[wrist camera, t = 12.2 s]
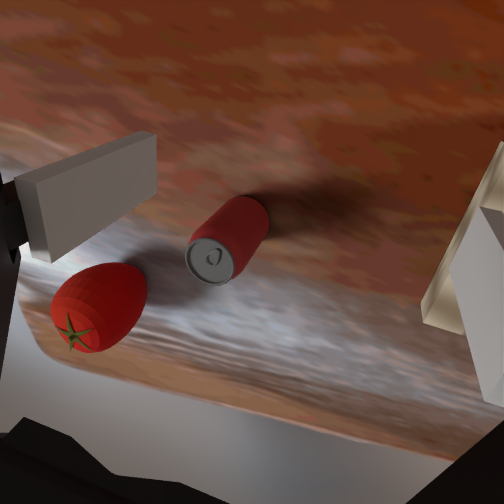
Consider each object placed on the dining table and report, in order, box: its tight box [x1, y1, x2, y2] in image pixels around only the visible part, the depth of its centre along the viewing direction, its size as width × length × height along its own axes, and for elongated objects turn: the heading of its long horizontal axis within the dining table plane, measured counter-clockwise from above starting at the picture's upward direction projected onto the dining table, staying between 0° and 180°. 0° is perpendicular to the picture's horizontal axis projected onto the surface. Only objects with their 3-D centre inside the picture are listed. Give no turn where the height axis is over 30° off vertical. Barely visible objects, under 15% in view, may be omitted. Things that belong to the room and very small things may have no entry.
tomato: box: [51, 262, 147, 353], centre depth 53 cm, size 13×11×14 cm
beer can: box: [185, 196, 270, 286], centre depth 43 cm, size 7×7×12 cm
